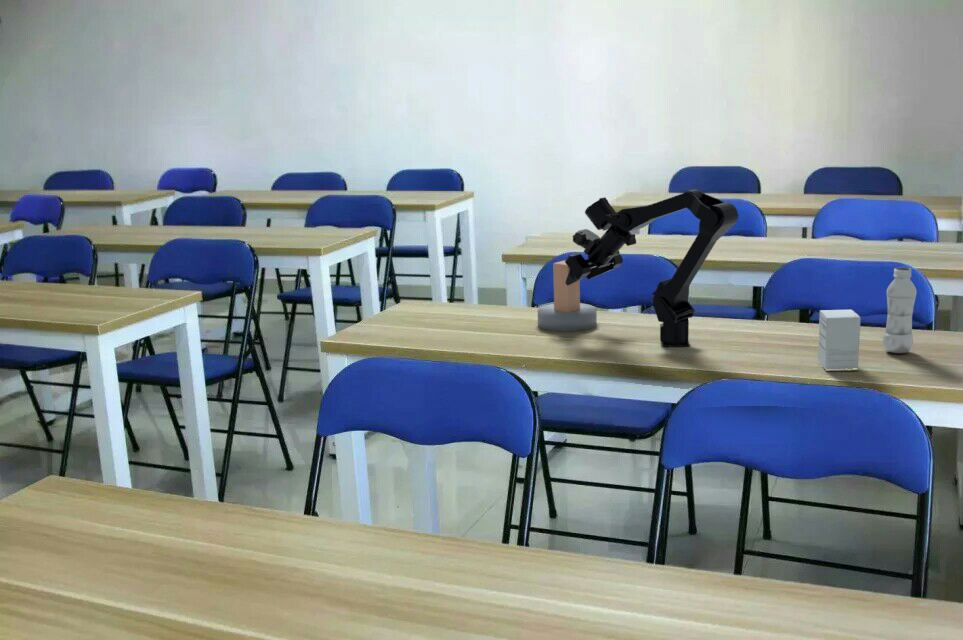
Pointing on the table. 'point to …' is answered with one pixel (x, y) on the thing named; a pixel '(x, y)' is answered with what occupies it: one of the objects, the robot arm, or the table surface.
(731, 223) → the robot arm
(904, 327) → the plastic bottle
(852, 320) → the supplement box
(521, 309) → the table surface
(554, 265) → the terracotta block
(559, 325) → the plinth
